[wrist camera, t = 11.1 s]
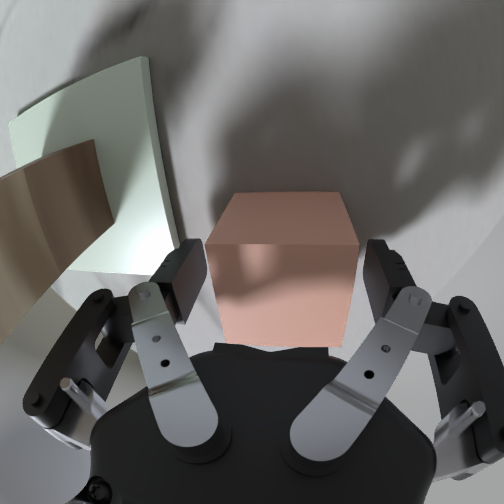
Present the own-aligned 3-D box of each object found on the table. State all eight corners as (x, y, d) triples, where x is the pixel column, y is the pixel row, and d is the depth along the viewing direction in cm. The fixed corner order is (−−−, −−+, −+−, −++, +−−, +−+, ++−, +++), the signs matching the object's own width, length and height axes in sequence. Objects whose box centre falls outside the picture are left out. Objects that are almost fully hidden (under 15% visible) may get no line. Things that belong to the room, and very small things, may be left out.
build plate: (148, 57, 10) (140, 55, 9) (185, 268, 16) (181, 276, 15) (16, 120, 12) (8, 123, 11) (57, 262, 18) (52, 268, 17)
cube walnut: (93, 138, 12) (22, 169, 7) (114, 223, 14) (60, 275, 10) (41, 157, 12) (-19, 188, 8) (61, 227, 15) (12, 269, 11)
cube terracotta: (339, 191, 12) (359, 244, 8) (332, 276, 15) (341, 346, 11) (235, 192, 13) (204, 244, 9) (245, 275, 16) (226, 343, 12)
